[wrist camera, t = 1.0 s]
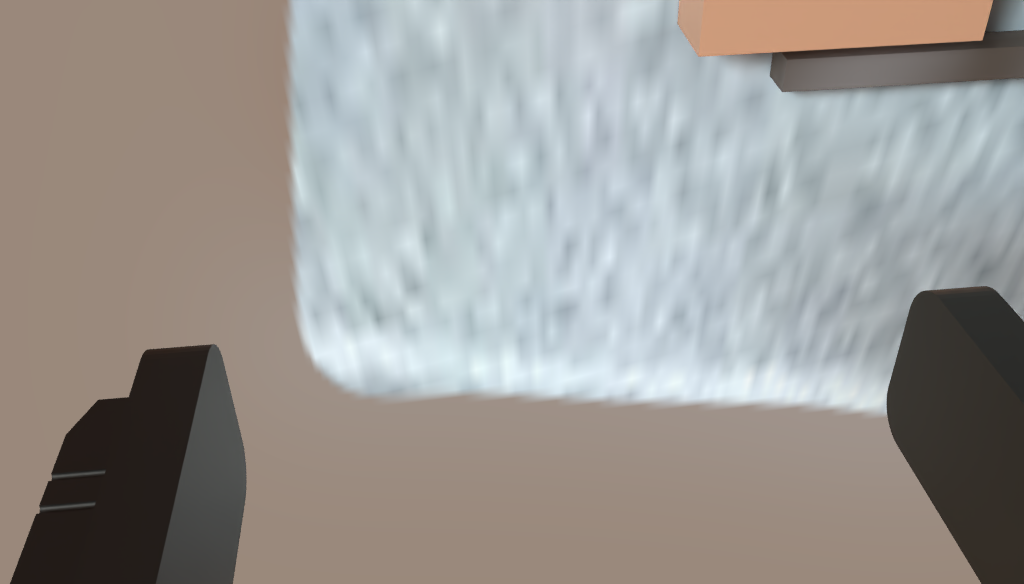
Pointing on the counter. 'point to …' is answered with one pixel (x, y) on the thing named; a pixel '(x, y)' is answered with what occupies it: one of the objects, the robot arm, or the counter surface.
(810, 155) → the counter surface
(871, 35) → the light orange flat block
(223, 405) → the robot arm
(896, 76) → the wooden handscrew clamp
